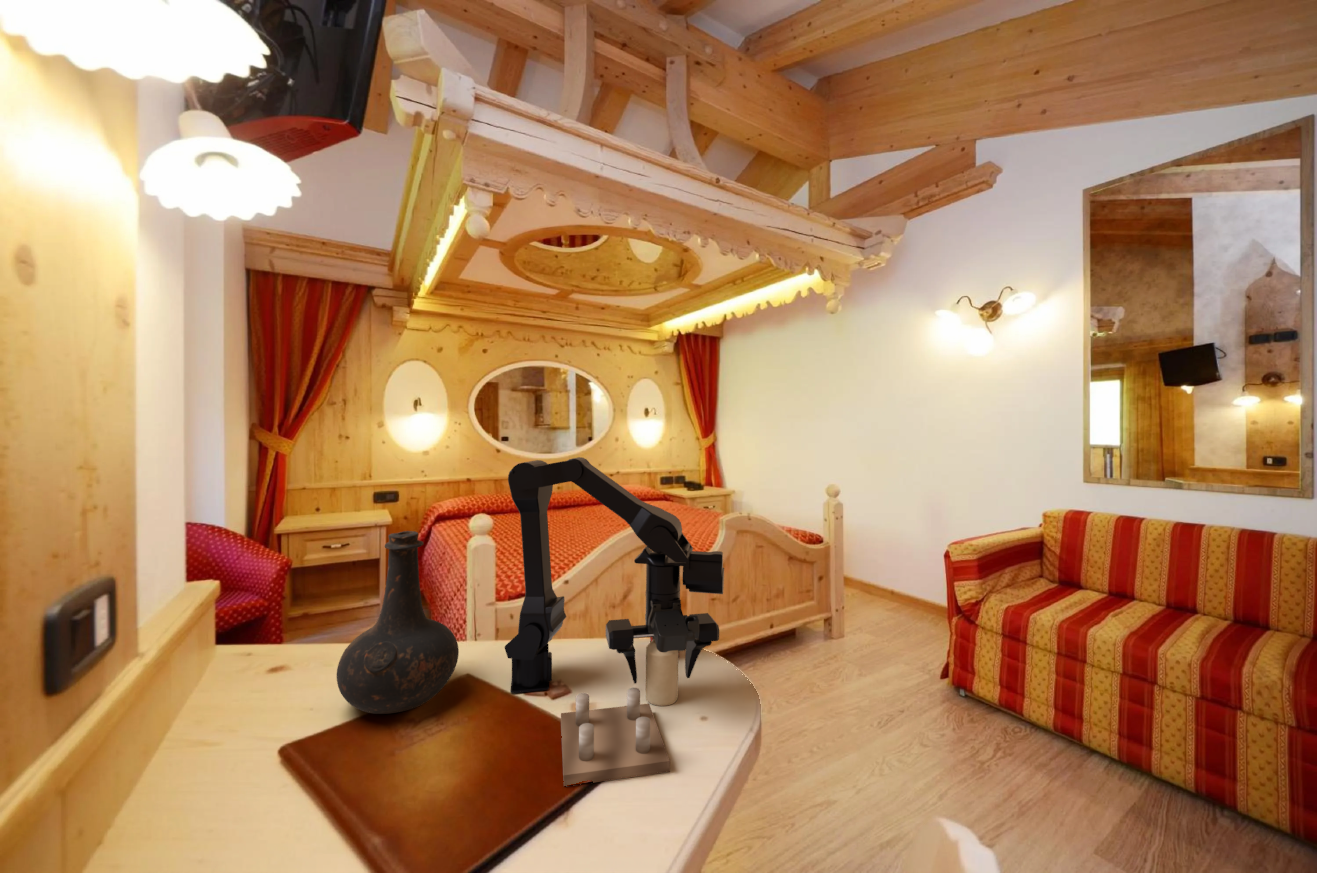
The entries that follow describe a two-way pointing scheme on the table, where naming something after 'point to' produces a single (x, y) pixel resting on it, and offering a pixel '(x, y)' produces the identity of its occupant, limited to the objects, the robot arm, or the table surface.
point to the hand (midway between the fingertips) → (661, 679)
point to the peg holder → (611, 742)
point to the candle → (661, 675)
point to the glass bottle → (398, 643)
